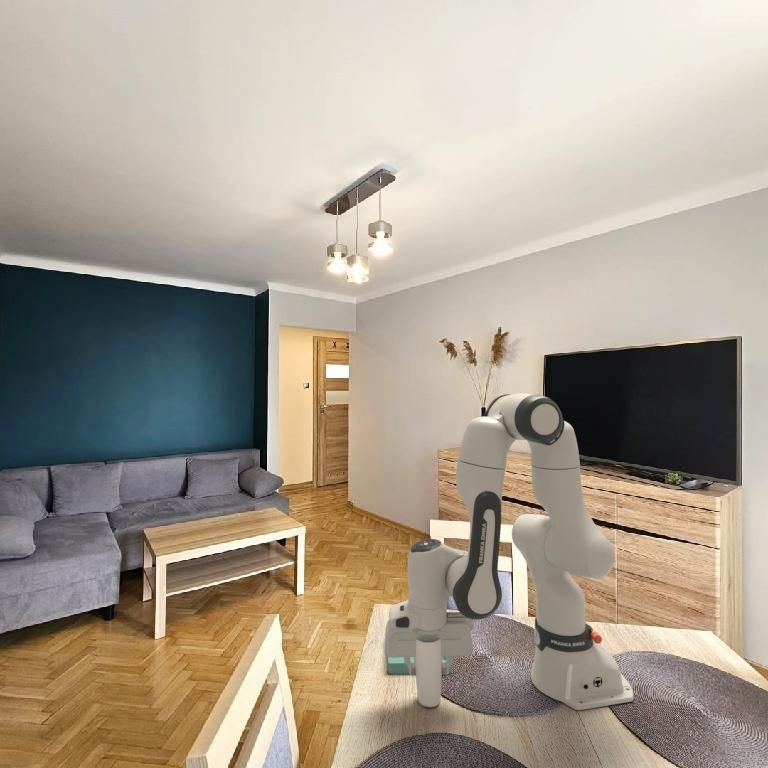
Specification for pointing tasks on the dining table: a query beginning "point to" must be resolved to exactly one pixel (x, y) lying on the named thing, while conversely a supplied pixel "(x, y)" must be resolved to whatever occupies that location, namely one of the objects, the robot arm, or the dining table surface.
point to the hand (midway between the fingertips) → (428, 673)
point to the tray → (404, 665)
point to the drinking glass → (428, 672)
